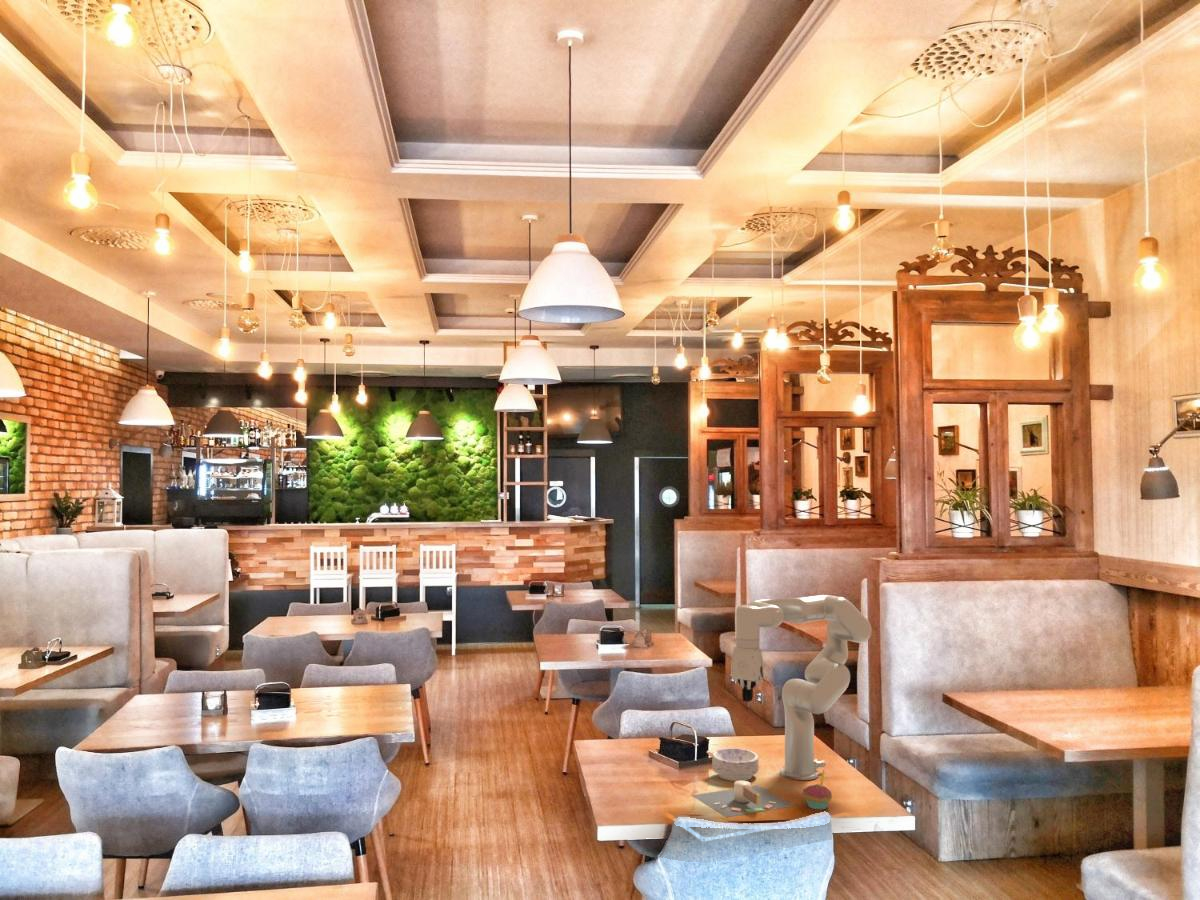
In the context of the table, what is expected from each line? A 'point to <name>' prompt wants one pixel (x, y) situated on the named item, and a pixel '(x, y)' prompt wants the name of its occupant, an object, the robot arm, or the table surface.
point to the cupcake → (817, 795)
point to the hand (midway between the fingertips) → (747, 700)
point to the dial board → (730, 807)
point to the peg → (745, 793)
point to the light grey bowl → (735, 764)
